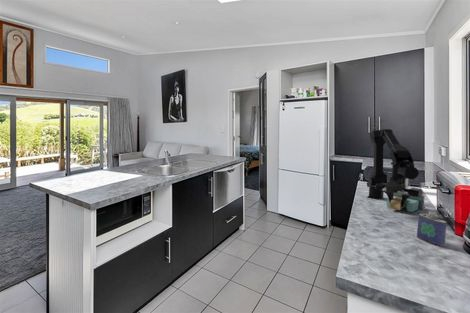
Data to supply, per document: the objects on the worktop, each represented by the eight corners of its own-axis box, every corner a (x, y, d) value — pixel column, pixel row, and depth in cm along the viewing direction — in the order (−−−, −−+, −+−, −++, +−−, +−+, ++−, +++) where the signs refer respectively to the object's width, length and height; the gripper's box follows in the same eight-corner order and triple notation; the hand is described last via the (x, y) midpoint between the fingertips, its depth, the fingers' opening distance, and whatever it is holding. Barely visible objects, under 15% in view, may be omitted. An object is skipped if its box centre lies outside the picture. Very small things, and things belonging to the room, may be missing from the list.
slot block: (386, 206, 126) (387, 198, 125) (393, 203, 130) (393, 195, 130) (411, 212, 116) (412, 203, 116) (418, 208, 121) (418, 200, 121)
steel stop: (391, 203, 132) (391, 190, 131) (394, 201, 134) (395, 189, 133) (422, 209, 120) (423, 196, 120) (424, 208, 123) (426, 194, 122)
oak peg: (390, 208, 119) (390, 200, 119) (396, 203, 126) (396, 196, 125) (399, 210, 116) (400, 202, 116) (405, 205, 123) (405, 198, 122)
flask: (446, 246, 83) (449, 216, 82) (440, 248, 83) (442, 217, 81) (419, 235, 92) (422, 208, 91) (413, 236, 91) (415, 209, 90)
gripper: (370, 174, 121) (369, 204, 122) (414, 180, 105) (412, 214, 107) (381, 171, 127) (379, 200, 129) (424, 177, 112) (421, 209, 114)
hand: (396, 206), depth 119 cm, fingers closed on oak peg, 4 cm apart
